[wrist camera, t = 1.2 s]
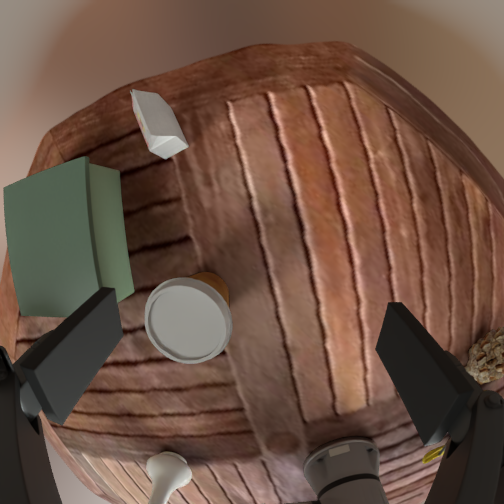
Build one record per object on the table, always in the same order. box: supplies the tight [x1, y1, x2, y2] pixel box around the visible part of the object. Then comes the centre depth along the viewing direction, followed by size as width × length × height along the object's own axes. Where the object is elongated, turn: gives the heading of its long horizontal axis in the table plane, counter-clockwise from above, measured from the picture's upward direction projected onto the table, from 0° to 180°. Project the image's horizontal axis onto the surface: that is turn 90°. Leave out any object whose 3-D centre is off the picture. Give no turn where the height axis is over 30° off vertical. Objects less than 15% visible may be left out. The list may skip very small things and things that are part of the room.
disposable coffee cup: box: [145, 272, 232, 364], centre depth 33 cm, size 10×10×12 cm
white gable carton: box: [130, 89, 189, 159], centre depth 31 cm, size 4×7×10 cm, turn 25°
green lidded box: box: [4, 156, 135, 317], centre depth 34 cm, size 19×17×10 cm
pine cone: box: [464, 327, 504, 384], centre depth 34 cm, size 22×10×10 cm, turn 110°
